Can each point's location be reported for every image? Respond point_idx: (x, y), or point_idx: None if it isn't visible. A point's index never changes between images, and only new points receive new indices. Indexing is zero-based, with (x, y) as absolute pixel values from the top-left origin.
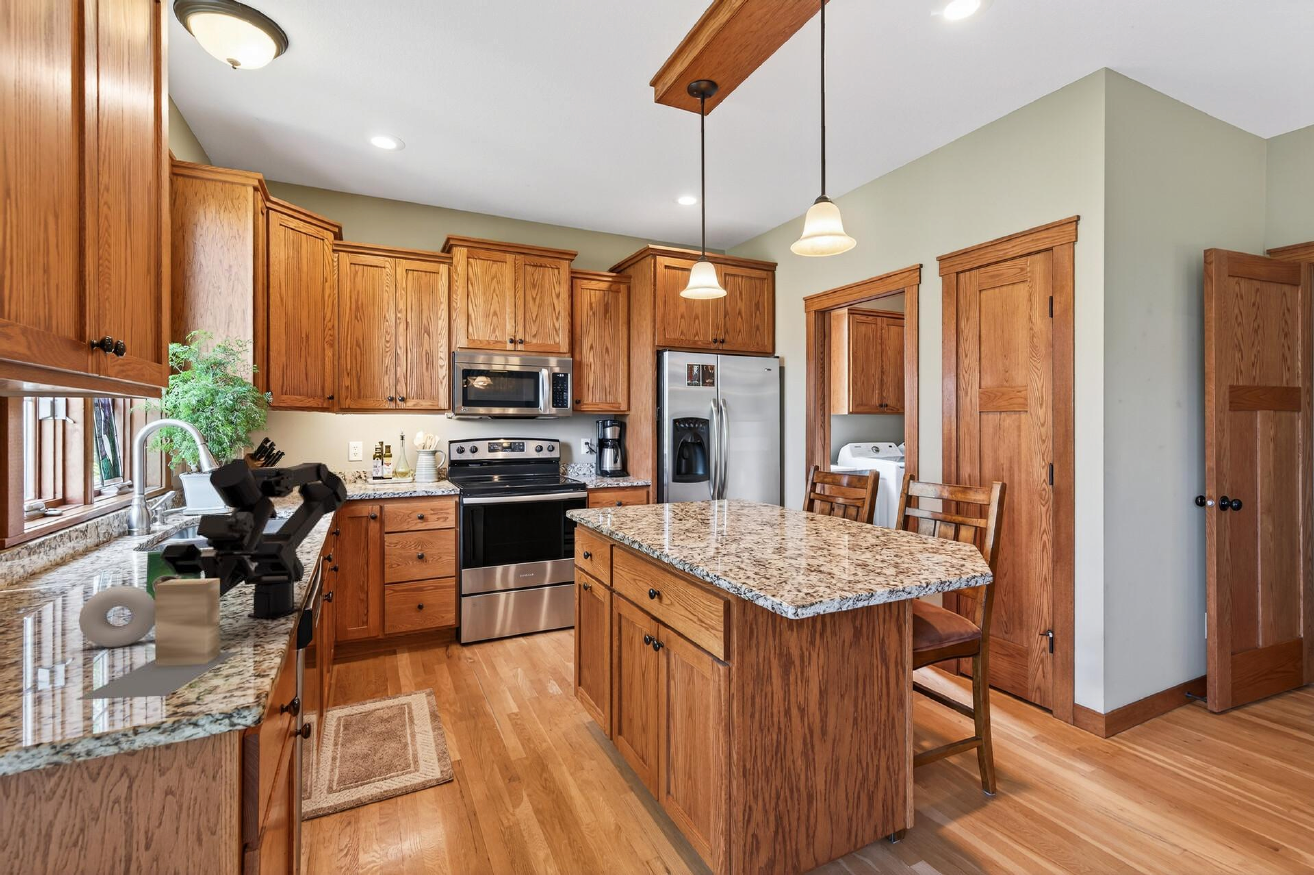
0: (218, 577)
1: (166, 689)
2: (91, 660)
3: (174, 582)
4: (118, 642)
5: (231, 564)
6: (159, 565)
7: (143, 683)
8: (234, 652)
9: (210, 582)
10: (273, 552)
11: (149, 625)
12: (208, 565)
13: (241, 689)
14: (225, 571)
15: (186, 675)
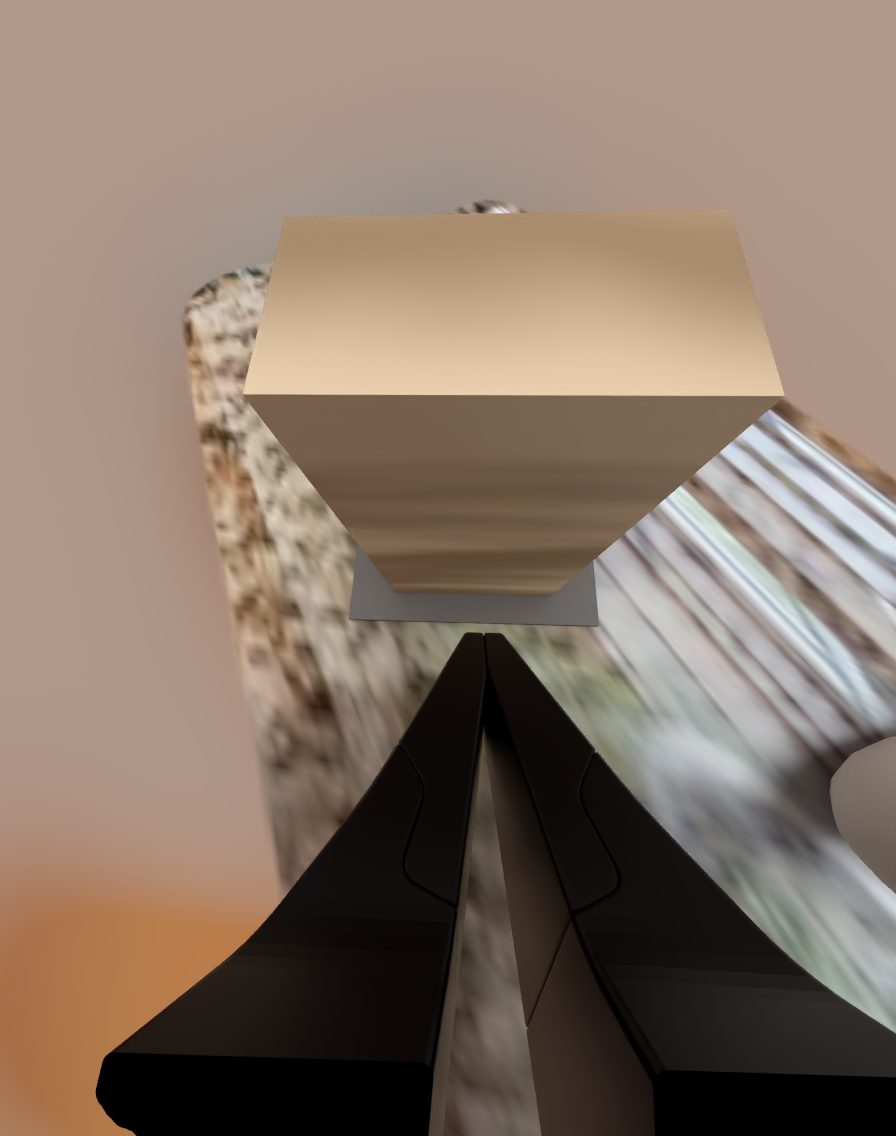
0: (456, 793)
1: None
2: (827, 621)
3: (621, 276)
4: (878, 742)
5: (188, 1023)
6: None
7: None
8: (361, 616)
9: (276, 281)
10: None
11: (852, 810)
12: (779, 1046)
13: (235, 365)
14: (367, 885)
15: None
